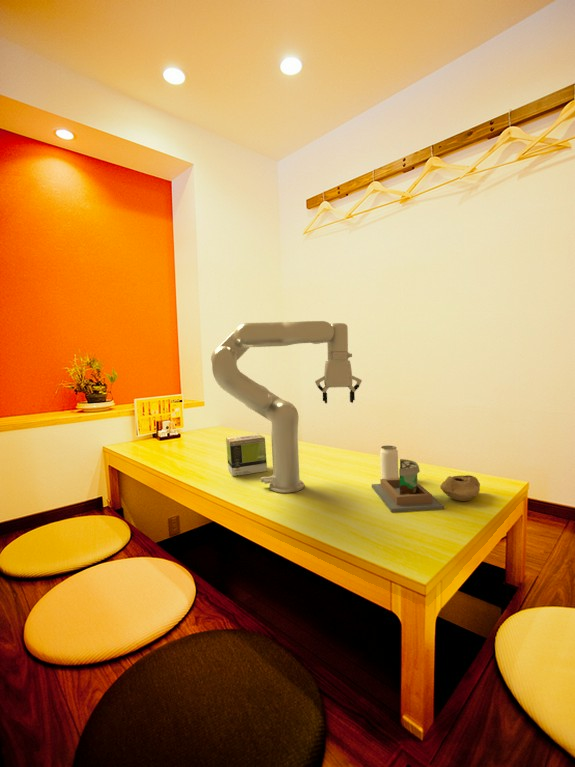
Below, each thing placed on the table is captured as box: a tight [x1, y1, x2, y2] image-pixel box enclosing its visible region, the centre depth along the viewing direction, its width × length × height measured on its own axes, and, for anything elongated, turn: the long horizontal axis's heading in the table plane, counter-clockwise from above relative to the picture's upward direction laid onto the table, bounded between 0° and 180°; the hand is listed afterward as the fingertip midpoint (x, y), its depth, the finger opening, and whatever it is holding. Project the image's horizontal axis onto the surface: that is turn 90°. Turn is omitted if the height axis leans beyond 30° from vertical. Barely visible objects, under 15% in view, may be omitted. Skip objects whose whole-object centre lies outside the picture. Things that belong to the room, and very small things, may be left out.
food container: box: [398, 458, 421, 495], centre depth 121 cm, size 12×6×10 cm, turn 162°
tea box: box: [225, 433, 268, 477], centre depth 158 cm, size 15×10×15 cm
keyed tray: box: [371, 477, 445, 513], centre depth 122 cm, size 16×22×4 cm
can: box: [379, 445, 399, 479], centre depth 141 cm, size 6×6×12 cm
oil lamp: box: [439, 474, 481, 502], centre depth 120 cm, size 11×15×8 cm
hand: (338, 402), depth 140 cm, fingers open, 9 cm apart
